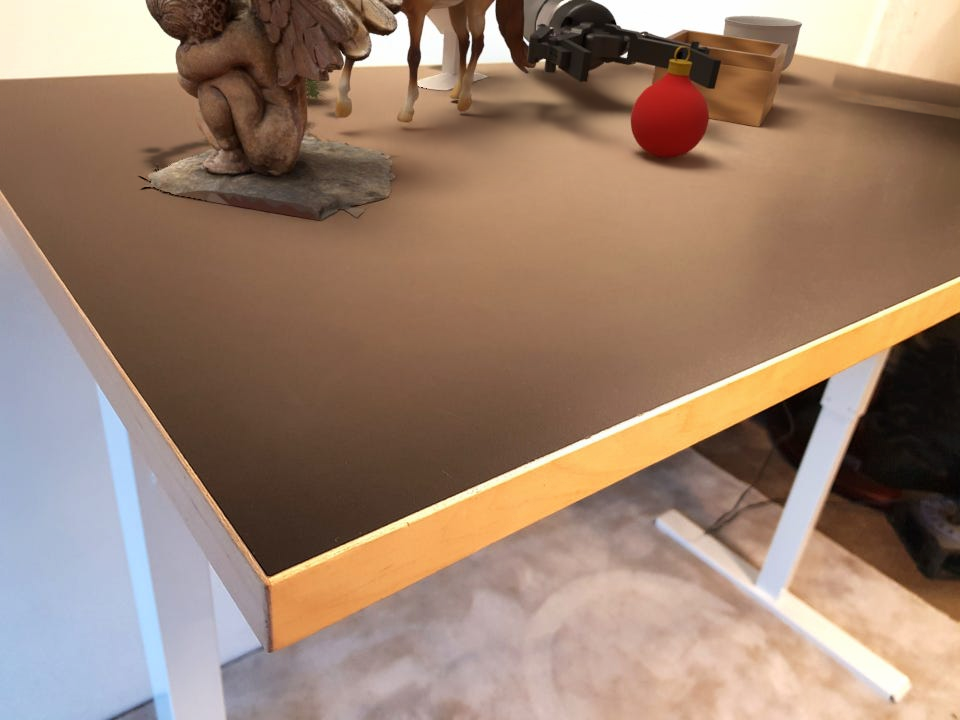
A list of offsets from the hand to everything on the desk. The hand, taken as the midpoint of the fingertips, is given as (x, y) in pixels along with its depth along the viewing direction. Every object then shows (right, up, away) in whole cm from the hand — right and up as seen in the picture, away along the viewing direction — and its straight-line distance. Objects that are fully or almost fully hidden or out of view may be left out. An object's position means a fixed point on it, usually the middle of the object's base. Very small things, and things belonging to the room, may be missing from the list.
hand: (651, 71), depth 76 cm
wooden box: (+12, +3, +21) cm, 24 cm away
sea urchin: (-35, -1, +6) cm, 36 cm away
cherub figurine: (-32, -13, -14) cm, 37 cm away
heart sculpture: (-20, +7, +22) cm, 31 cm away
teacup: (+25, +16, +45) cm, 54 cm away
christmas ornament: (+1, -9, 0) cm, 9 cm away
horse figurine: (-20, -4, +4) cm, 21 cm away
